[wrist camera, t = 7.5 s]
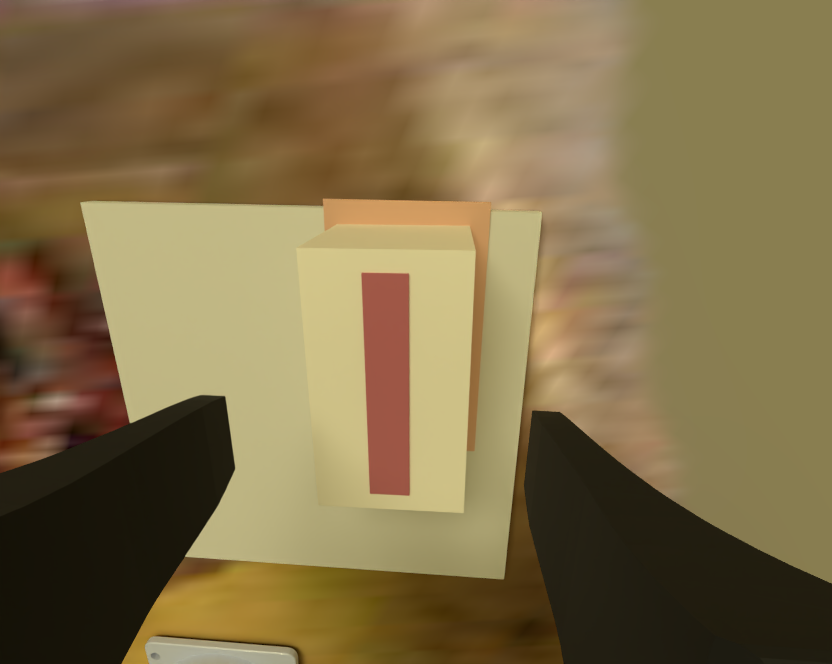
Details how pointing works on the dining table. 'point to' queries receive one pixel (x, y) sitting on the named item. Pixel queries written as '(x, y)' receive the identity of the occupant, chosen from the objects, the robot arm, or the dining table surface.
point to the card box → (389, 363)
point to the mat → (287, 375)
